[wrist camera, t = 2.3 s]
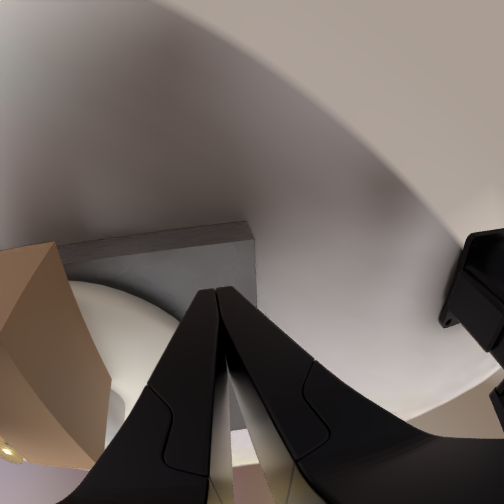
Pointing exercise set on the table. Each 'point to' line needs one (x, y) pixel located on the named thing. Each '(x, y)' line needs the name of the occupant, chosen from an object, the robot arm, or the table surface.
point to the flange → (70, 358)
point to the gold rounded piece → (9, 453)
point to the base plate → (171, 269)
